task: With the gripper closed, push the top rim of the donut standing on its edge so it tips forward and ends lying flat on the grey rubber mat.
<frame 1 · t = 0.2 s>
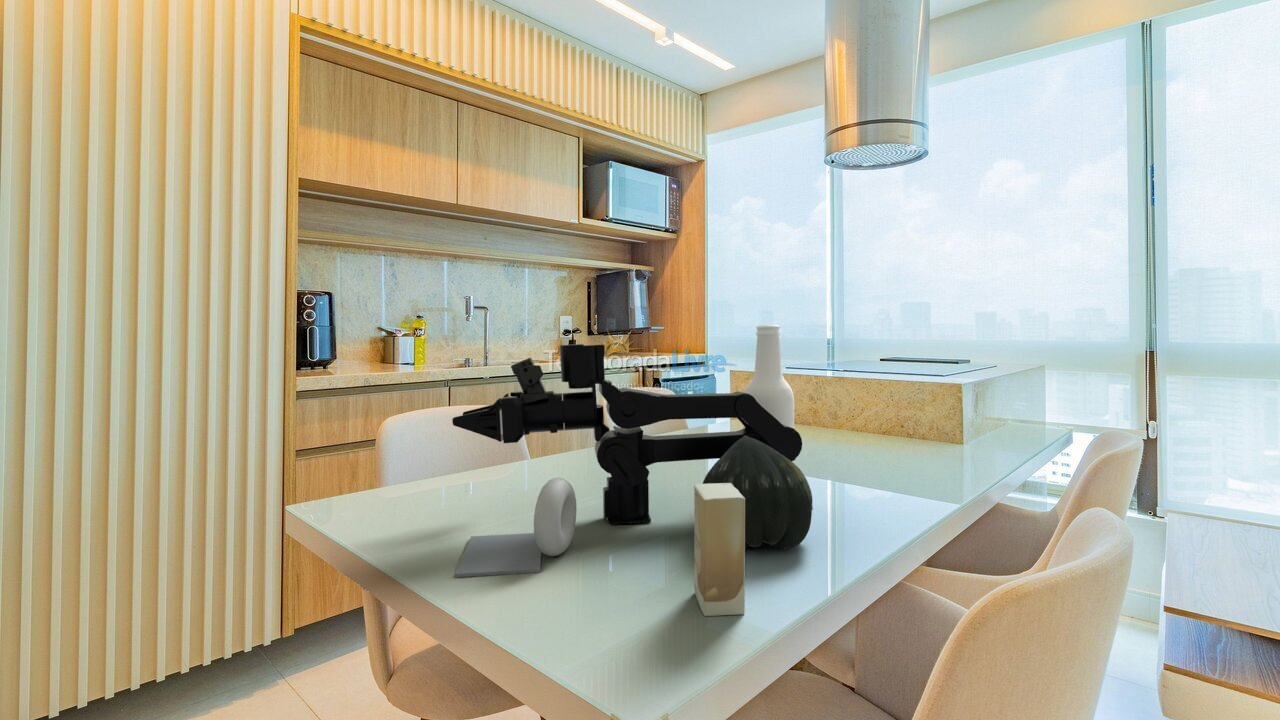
hand: (458, 418, 92), 16 cm above the table, tool horizontal, fingers open, 9 cm apart
mat: (502, 554, 81), on the table
alcohol: (768, 497, 109), on the table
squash: (755, 543, 84), on the table
donut: (556, 555, 81), on the table
skincare box: (718, 605, 65), on the table
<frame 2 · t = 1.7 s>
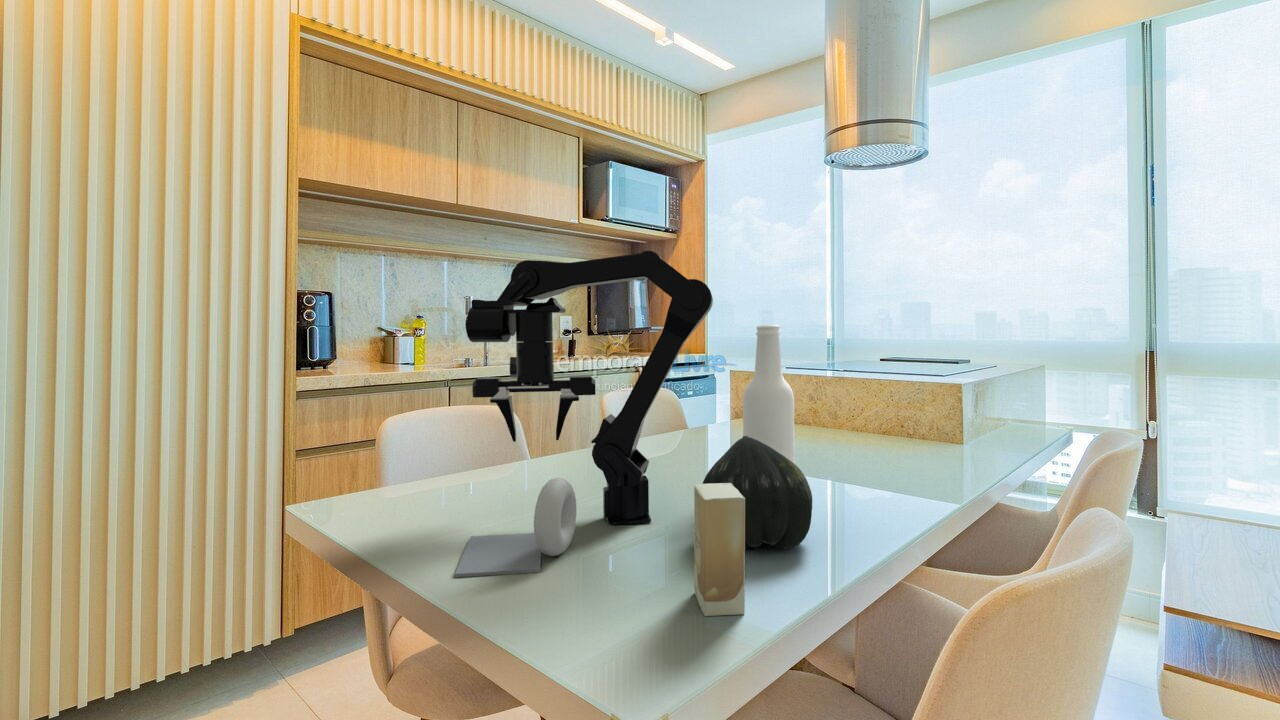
hand: (536, 440, 98), 12 cm above the table, tool pointing down, fingers open, 6 cm apart
nothing on the table moved.
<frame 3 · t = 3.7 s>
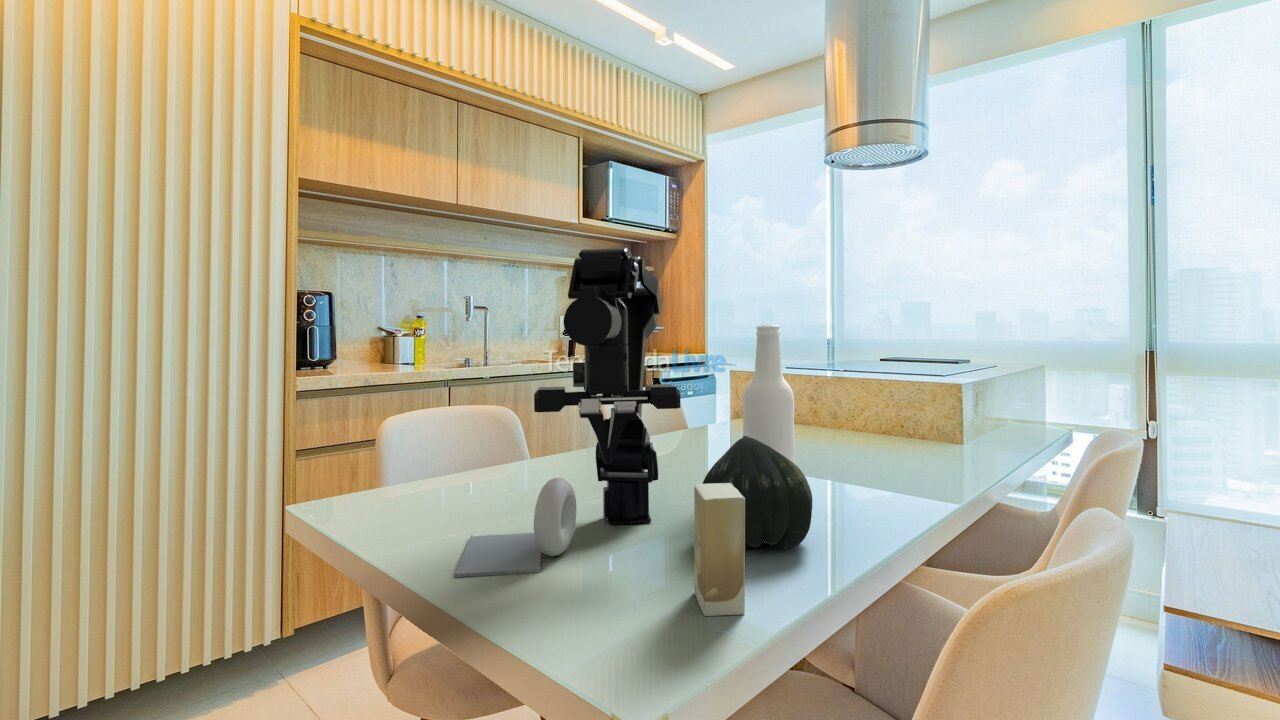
hand: (607, 463, 81), 12 cm above the table, tool pointing down, fingers closed
nothing on the table moved.
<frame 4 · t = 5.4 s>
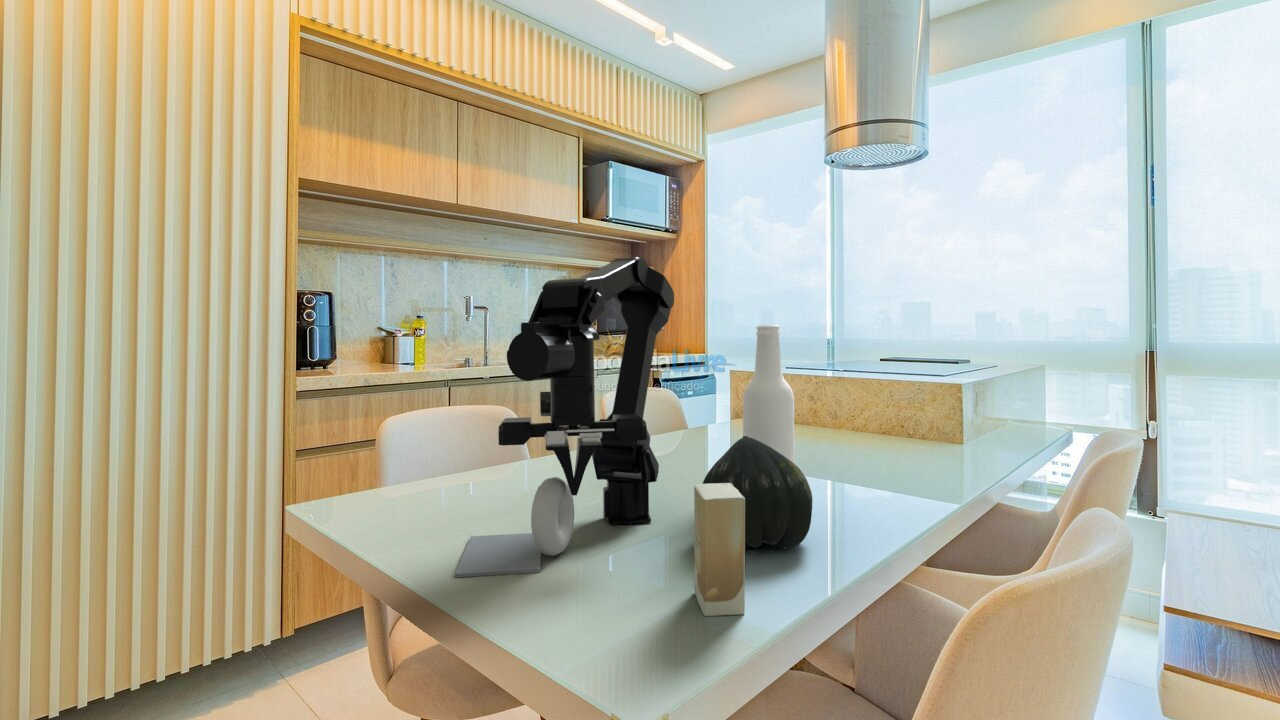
hand: (574, 494, 81), 8 cm above the table, tool pointing down, fingers closed
donut: (556, 554, 81), on the table, touching gripper
everything else where it was.
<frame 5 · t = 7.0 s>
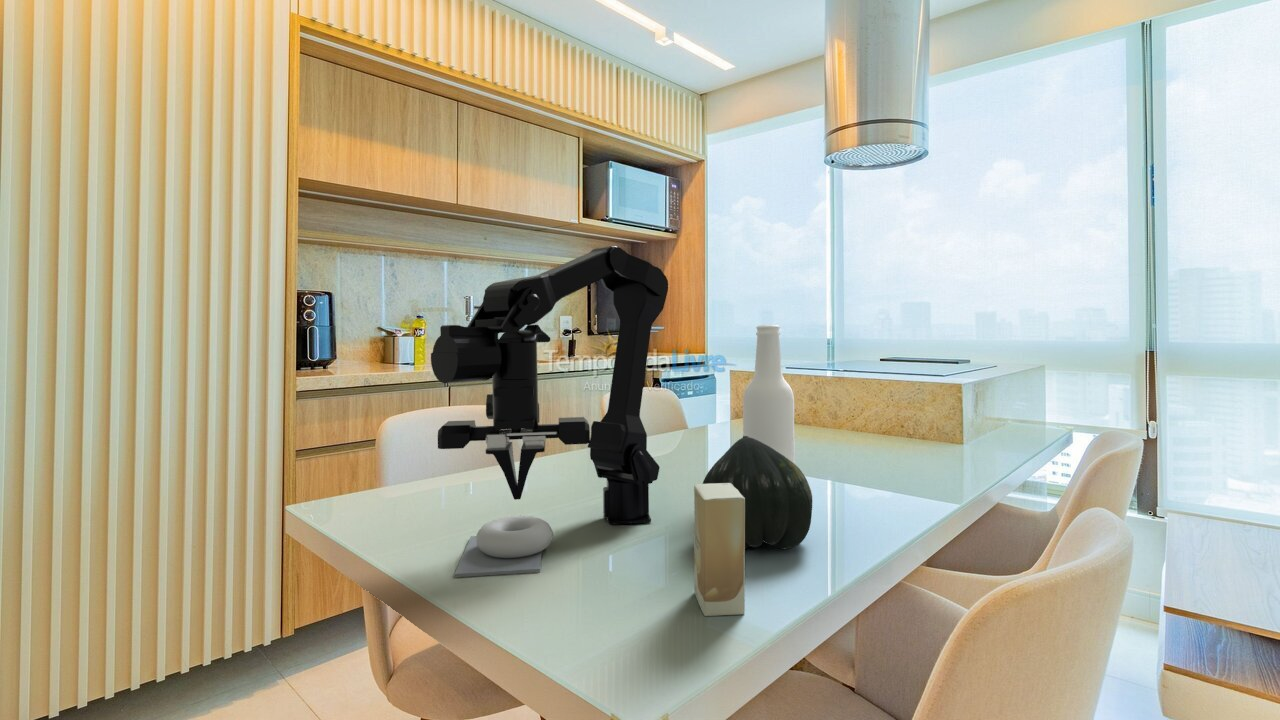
hand: (517, 498, 80), 8 cm above the table, tool pointing down, fingers closed
donut: (546, 541, 79), point 2 cm above the table, touching mat
everything else where it was.
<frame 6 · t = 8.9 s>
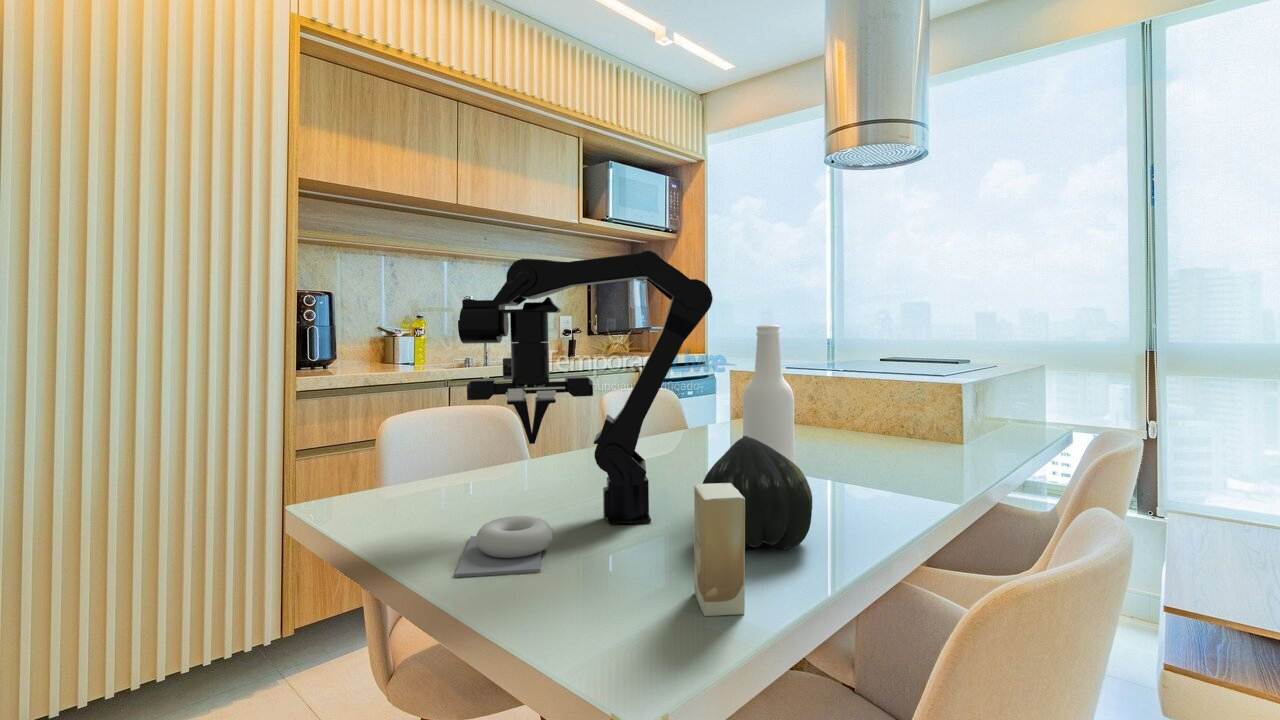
hand: (532, 443, 96), 12 cm above the table, tool pointing down, fingers closed
nothing on the table moved.
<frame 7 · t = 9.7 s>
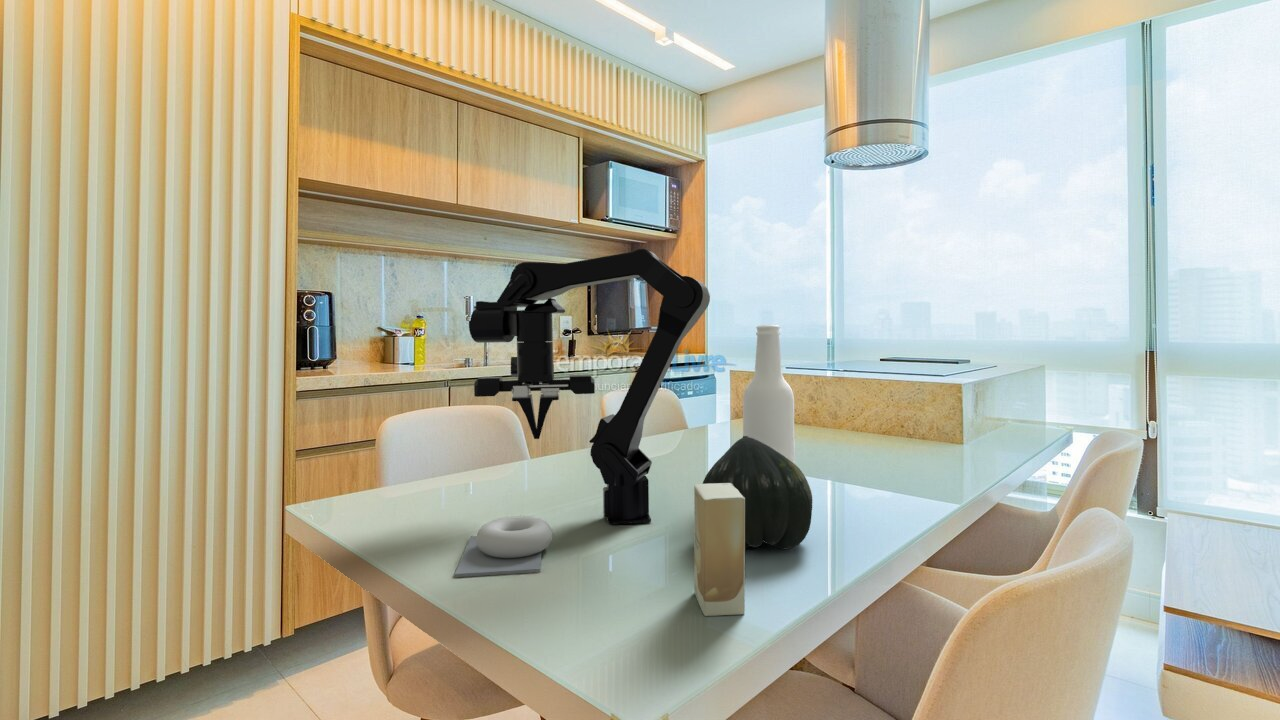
hand: (536, 438, 100), 12 cm above the table, tool pointing down, fingers closed
nothing on the table moved.
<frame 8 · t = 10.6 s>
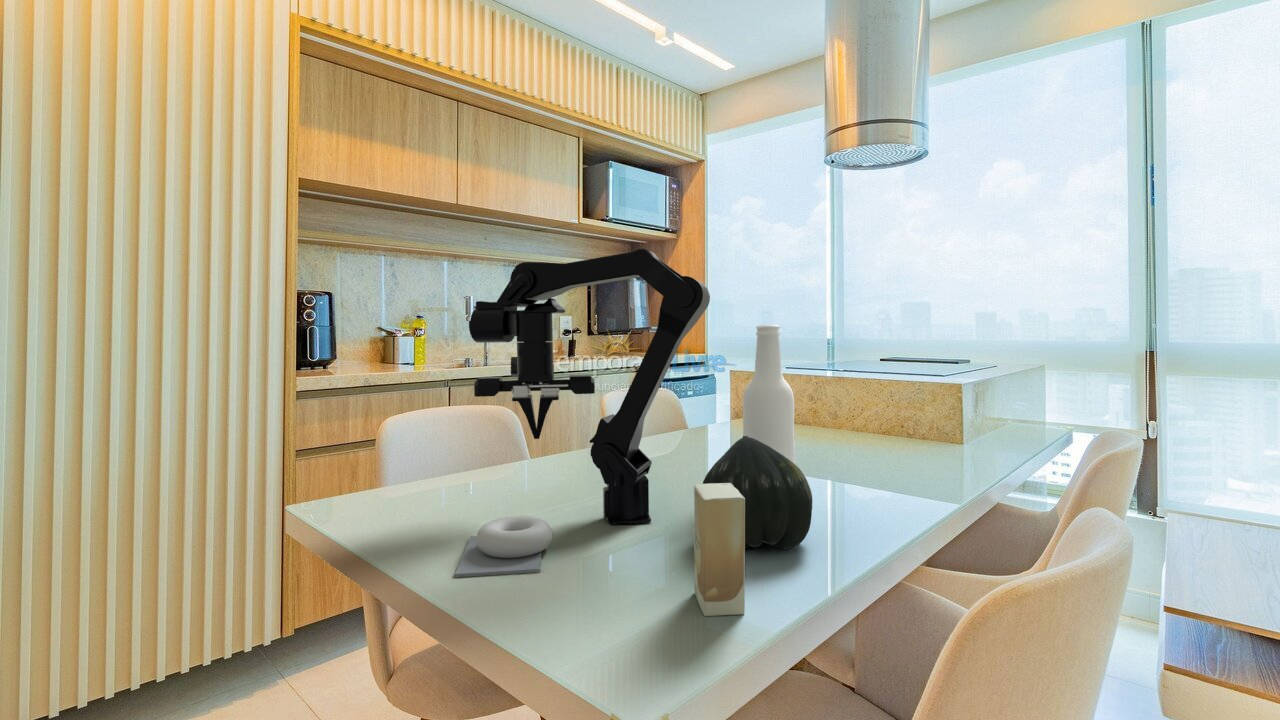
hand: (536, 438, 100), 12 cm above the table, tool pointing down, fingers closed
nothing on the table moved.
at the end: donut tilted 91°; donut inside the target area on the mat (5.3 cm from its centre), point 2.2 cm above the mat's base; donut touching mat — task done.
